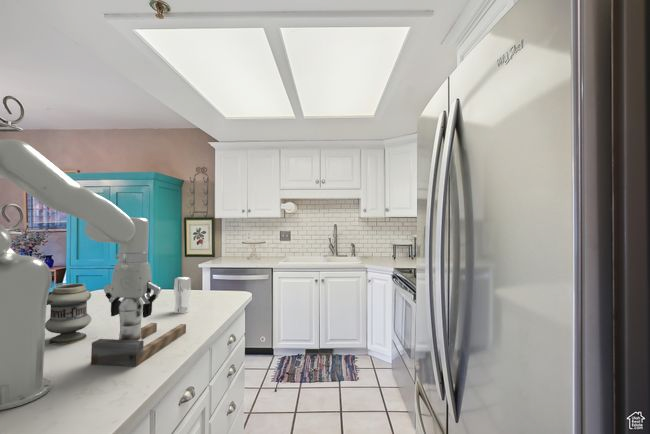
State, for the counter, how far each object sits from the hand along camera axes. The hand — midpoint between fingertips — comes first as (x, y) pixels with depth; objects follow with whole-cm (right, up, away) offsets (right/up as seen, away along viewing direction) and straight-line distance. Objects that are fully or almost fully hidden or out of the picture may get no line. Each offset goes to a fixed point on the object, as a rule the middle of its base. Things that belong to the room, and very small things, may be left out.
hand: (131, 315), depth 95 cm
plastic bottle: (0, -12, 0) cm, 12 cm away
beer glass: (-6, -13, +47) cm, 49 cm away
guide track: (0, -12, +7) cm, 14 cm away
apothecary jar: (-28, -12, +11) cm, 33 cm away
